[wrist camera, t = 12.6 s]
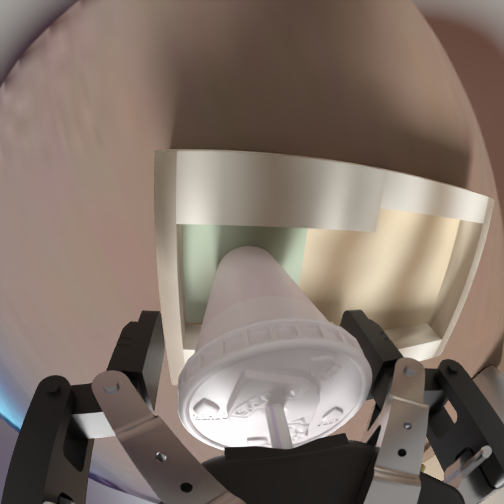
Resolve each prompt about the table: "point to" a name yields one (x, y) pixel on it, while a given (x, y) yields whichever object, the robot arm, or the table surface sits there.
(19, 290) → the table surface
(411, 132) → the table surface
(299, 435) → the smoothie
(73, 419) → the robot arm
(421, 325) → the cream rectangular tray
